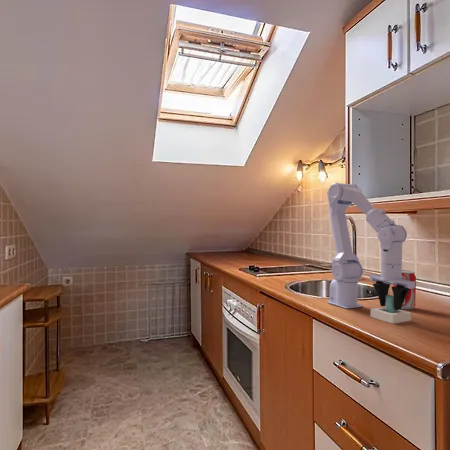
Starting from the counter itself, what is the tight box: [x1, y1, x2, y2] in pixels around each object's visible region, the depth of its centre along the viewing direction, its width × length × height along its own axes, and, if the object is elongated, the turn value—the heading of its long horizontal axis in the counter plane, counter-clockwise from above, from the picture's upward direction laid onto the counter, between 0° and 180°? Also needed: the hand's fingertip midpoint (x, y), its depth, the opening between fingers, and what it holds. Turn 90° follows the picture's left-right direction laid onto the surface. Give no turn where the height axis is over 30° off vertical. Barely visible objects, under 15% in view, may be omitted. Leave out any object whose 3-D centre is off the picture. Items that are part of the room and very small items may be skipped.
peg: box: [384, 294, 397, 313], centre depth 105 cm, size 3×3×7 cm
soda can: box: [392, 269, 417, 311], centre depth 119 cm, size 7×7×13 cm
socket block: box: [370, 306, 412, 324], centre depth 105 cm, size 8×8×2 cm
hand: (390, 307), depth 105 cm, fingers open, 4 cm apart
